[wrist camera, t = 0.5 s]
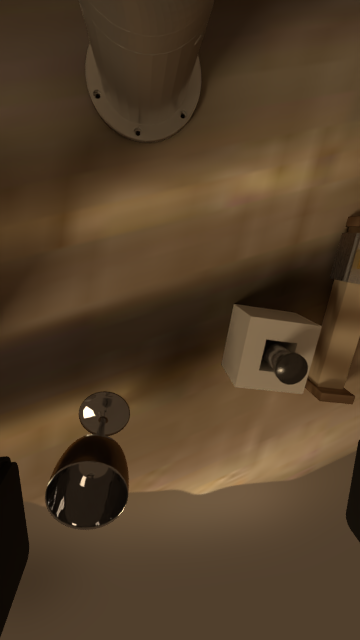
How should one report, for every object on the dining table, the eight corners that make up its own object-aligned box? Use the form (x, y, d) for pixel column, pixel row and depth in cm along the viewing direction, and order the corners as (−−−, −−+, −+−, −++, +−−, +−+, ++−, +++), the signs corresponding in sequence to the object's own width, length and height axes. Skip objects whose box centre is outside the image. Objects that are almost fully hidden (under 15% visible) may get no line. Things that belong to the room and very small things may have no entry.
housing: (234, 303, 44) (250, 316, 37) (297, 312, 45) (324, 326, 38) (221, 364, 46) (235, 387, 39) (282, 371, 47) (305, 394, 40)
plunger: (258, 333, 41) (280, 352, 34) (284, 337, 41) (311, 356, 35) (252, 359, 42) (273, 383, 35) (278, 362, 42) (303, 386, 36)
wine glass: (135, 434, 47) (132, 522, 33) (80, 442, 46) (53, 536, 32) (128, 385, 45) (122, 457, 30) (71, 393, 44) (37, 469, 30)
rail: (348, 217, 42) (374, 214, 37) (381, 223, 43) (411, 222, 38) (301, 384, 48) (319, 400, 43) (331, 387, 49) (352, 404, 44)
